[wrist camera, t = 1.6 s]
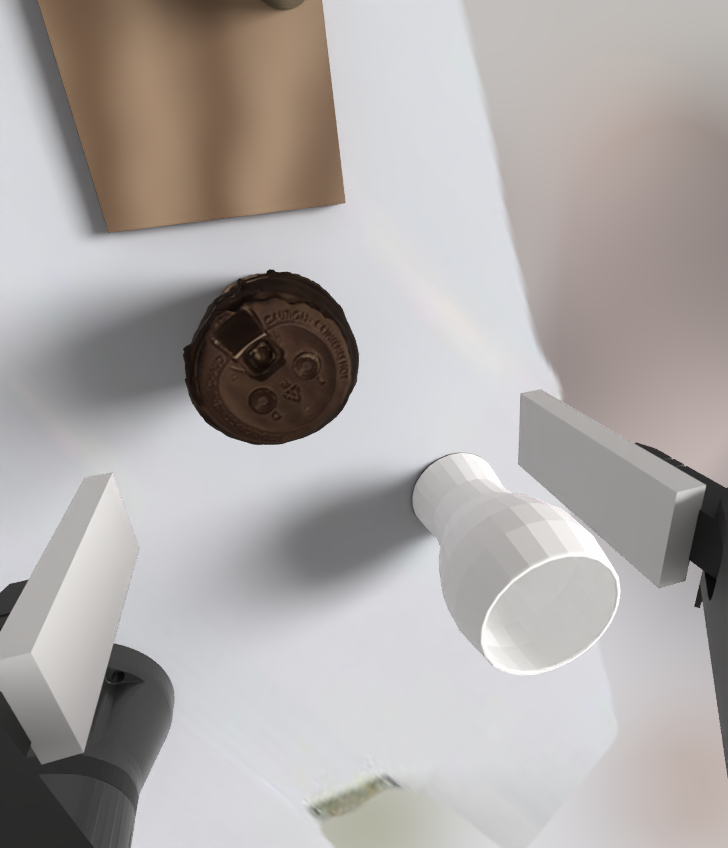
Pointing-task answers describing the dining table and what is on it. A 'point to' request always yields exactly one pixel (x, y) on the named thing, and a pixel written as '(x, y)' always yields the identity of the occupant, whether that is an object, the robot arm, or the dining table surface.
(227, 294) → the coffee cup
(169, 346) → the dining table surface
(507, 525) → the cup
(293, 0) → the green cylinder
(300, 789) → the dining table surface
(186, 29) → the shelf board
